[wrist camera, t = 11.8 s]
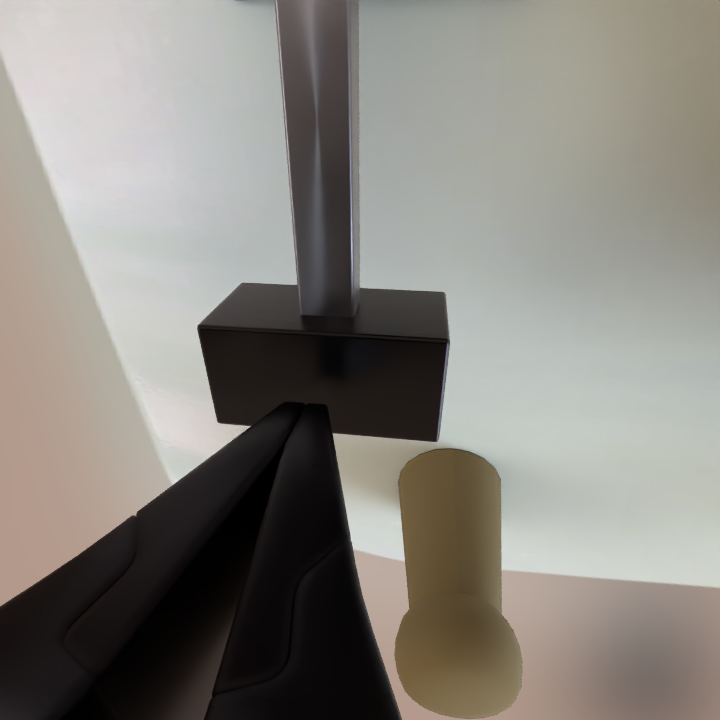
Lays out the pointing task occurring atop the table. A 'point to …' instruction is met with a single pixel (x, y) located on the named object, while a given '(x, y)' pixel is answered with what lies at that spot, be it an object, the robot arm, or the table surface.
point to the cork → (455, 588)
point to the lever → (327, 270)
